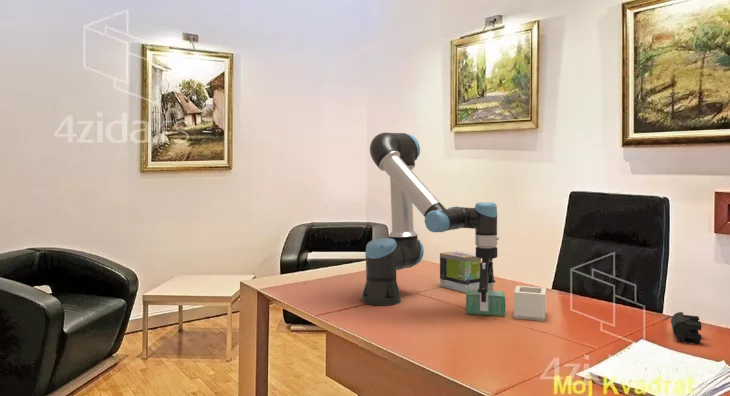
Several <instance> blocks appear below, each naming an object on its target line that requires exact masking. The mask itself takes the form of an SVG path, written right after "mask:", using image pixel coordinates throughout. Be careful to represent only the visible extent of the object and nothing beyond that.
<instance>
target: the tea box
mask: <svg viewBox="0 0 730 396" xmlns="http://www.w3.org/2000/svg"><path fill="white" fill-rule="evenodd" d="M481 262H482V259H481V258H477V257H476V253H472V252H471V253H469V252H464V251H458V250H453V251H446V252H445V251H444V252H440V253H439V287H441V288H446V289H450V290H454V291H457V292H460V293H465V294H466V292H467V289H468V290H479V281H480V263H481Z"/></svg>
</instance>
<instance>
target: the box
mask: <svg viewBox="0 0 730 396" xmlns="http://www.w3.org/2000/svg"><path fill="white" fill-rule="evenodd" d="M465 294H466V295H465V314H466V315H482V316H496V317H505V315H506V307H507V306H506V295H505V294H506V293H505V292H504V291H500V290H493V291H488V311H480V292H478V290H468V289H467V292H466V293H465Z"/></svg>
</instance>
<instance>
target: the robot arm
mask: <svg viewBox="0 0 730 396" xmlns="http://www.w3.org/2000/svg"><path fill="white" fill-rule="evenodd" d="M369 154H370V157H371V159H372V161H373V162H374V164H375V166H377V168H378V169H379V170H380V171H383V172H385V173H386V174H387V175H388V176H389V180H390V181H389V183H390V206H391V210H390V211H391V232H390V233H389V234H388V237H385V238H383V237H382V238H381V237H380V238H375V239H373V240H370V241H369V242H367V244H366V246H365V254H364V255H365V274H366V275H365V276H366V277H365V278H366V279H365V280H366V281H365V284H364V288H363V291H362V294H361V302H362V303H364V302H365V303H364V304H366V303H368V304H367V305H370V304H372V305H371V306H391V305H392V304H393V305H396V303H397V304H400V303H401V302H402V294H401V291H400V287H399V283H398V281H397V271H400V270H404V269H409V268H412V267H414V266H416V265H418V264H420V262H421V261H422V259H423V257H424V252H425V251H424V249H425V248H424V245H423V243H422V241H421V240H420V239H418V233H417V232H416V231H415V230H414V212H413V211H414V210H413V208H414V207H416V209H417V210H418V211H419V213H420V214H422V216H423V217H424V224H425V228H426V229H427V230H428V231H429V232H432V233H444V232H447V231H452V230H458V229H474V230H475V231H474V232H475V234H474V235H475V237H474V238H475V239H474V240H475V242H474V243H475V245H474V246H475V254H476V257H477V258H481V263H480V281H479V290H478V292H480V311H488V291H494V284H495V283H496V280H495V277H494V262H493V259H497V258H498V247H497V246H498V241H499V240H500V238H499V237H498V216H499V215H498V205H497V203H495V202H489V201H488V202H487V201H485V202H476V203H475V206H474V207H463V206H449V207H447V208H446V207H445V206H444V205H443V204H442V203H441V202H440V200H438V198H437V197H436V196H435V195H434V194H433V192H431V191H430V190H429V188H428V187H427V186H426V184H424V183H423V181H421V179H420V178H419V177H418V175H416V173H414V172H413V169H415V167H416V162H415V161H417V160H418V158H419V157H420V154H421V146H420V143H419V141H418V139H417V138H415V136H414V135H412V134H409V133H404V132H381V133H379V134H377V135H375V136H374V137H373V139H371V142H370V145H369Z"/></svg>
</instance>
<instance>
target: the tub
mask: <svg viewBox="0 0 730 396" xmlns="http://www.w3.org/2000/svg"><path fill="white" fill-rule="evenodd" d="M546 315H547V287H543V286H542V287H541V286H528V285H527V286H526V285H516V286H515V289H514V291H513V319H516V320H517V319H519V320H527V321H529V320H530V321H539V322H545V321H546Z"/></svg>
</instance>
